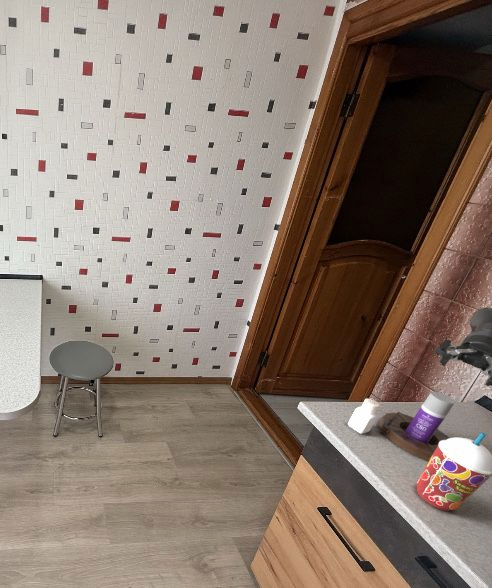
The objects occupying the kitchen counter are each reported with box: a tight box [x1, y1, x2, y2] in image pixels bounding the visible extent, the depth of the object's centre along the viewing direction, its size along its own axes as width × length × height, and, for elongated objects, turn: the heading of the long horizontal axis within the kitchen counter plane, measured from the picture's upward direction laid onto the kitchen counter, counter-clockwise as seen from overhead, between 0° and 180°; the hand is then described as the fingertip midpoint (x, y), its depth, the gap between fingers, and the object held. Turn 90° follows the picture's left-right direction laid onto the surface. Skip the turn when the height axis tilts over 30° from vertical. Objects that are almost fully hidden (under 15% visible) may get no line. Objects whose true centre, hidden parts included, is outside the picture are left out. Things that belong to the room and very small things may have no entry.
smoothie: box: [416, 432, 492, 512], centre depth 71 cm, size 8×8×20 cm
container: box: [404, 391, 456, 444], centre depth 89 cm, size 5×5×15 cm
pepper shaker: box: [347, 398, 381, 435], centre depth 92 cm, size 4×4×10 cm
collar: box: [378, 411, 450, 462], centre depth 91 cm, size 15×15×2 cm
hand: (466, 373), depth 86 cm, fingers open, 8 cm apart
